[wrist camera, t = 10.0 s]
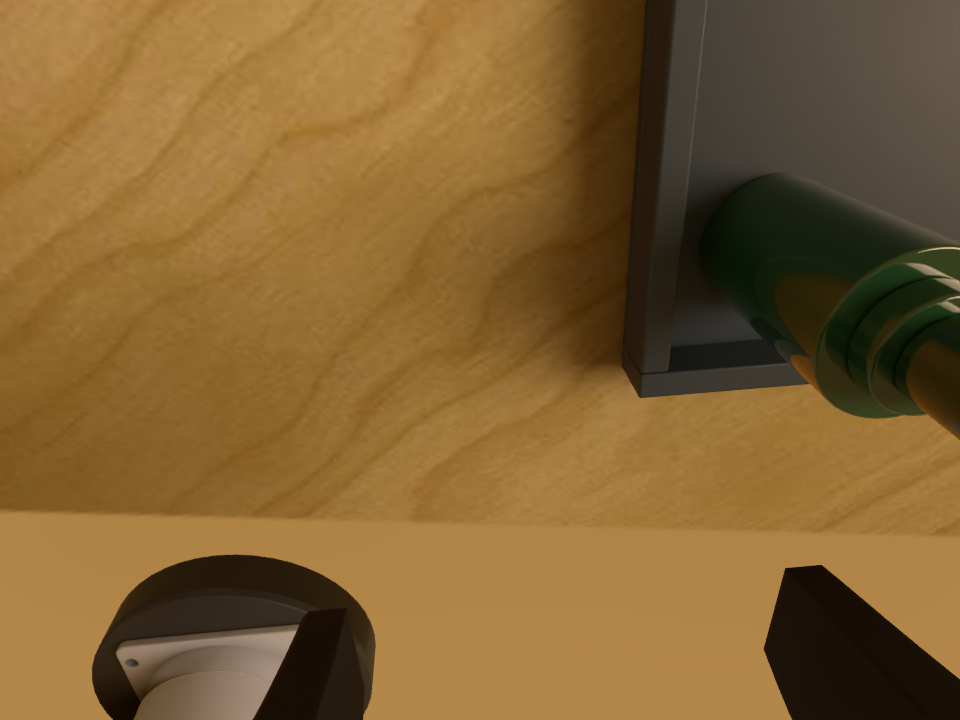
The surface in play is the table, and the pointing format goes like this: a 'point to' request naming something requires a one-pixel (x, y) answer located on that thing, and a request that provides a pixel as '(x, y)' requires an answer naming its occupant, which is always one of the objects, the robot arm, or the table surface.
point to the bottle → (843, 295)
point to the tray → (775, 153)
